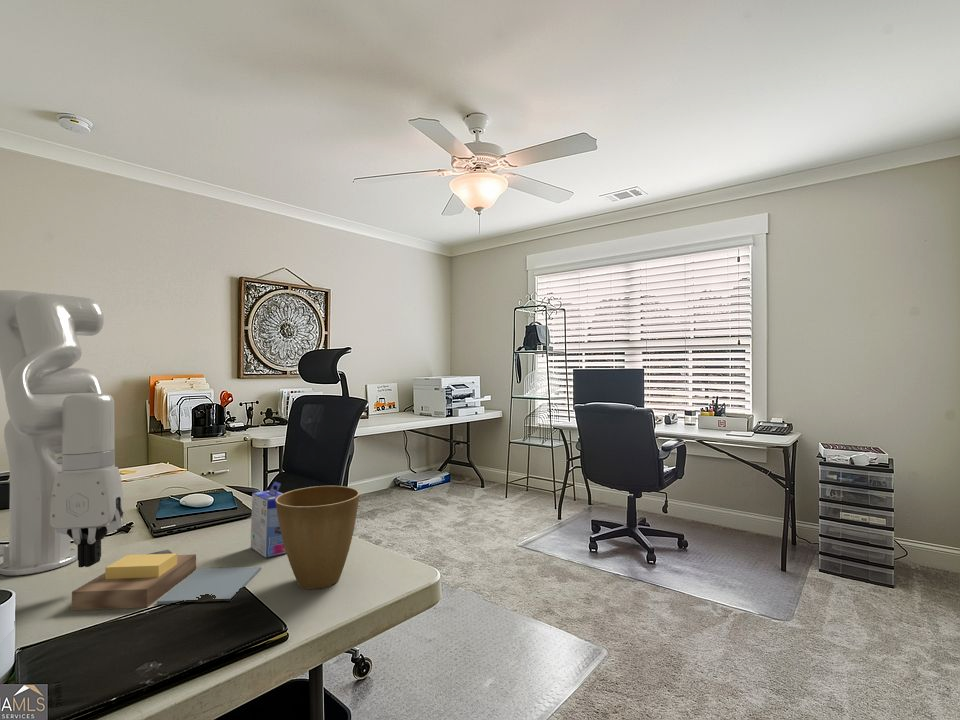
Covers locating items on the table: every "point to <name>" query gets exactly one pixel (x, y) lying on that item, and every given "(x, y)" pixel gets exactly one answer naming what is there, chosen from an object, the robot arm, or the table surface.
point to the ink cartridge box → (266, 523)
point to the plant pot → (317, 531)
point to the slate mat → (211, 584)
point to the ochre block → (141, 566)
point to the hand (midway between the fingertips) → (89, 564)
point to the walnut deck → (131, 588)
